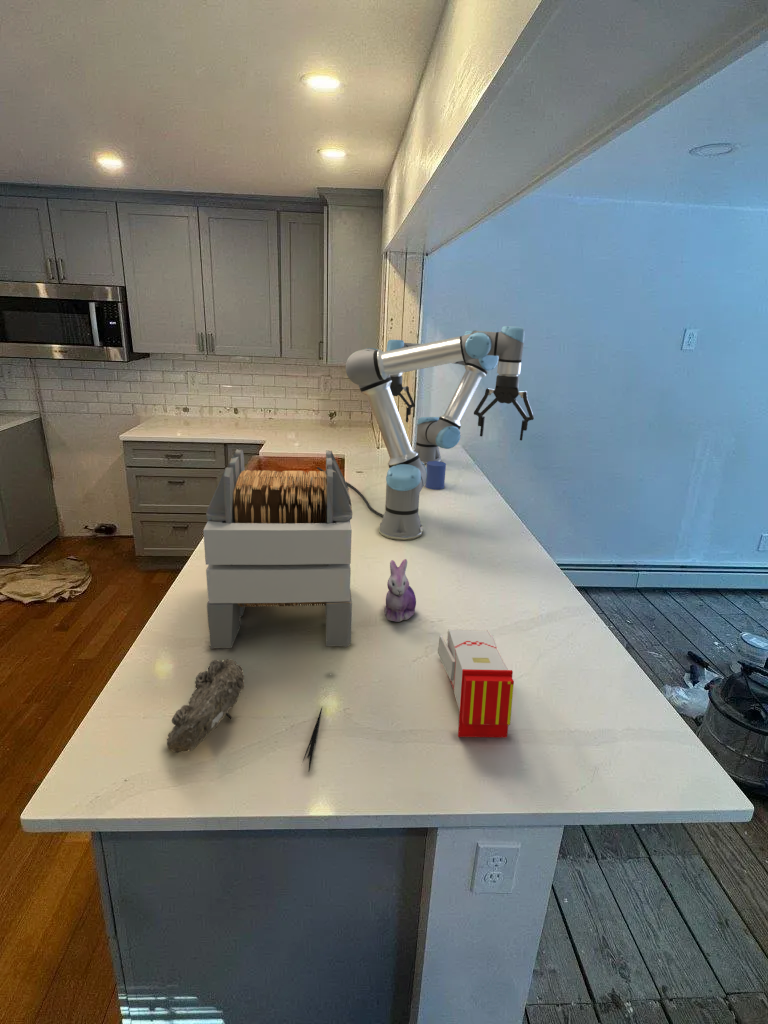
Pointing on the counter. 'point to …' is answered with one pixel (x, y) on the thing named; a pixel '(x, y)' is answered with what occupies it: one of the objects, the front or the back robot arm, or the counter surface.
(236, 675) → the fossil
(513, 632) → the counter surface
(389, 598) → the figurine
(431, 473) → the can
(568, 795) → the counter surface
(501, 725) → the toy
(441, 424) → the back robot arm
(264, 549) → the gray record crate
